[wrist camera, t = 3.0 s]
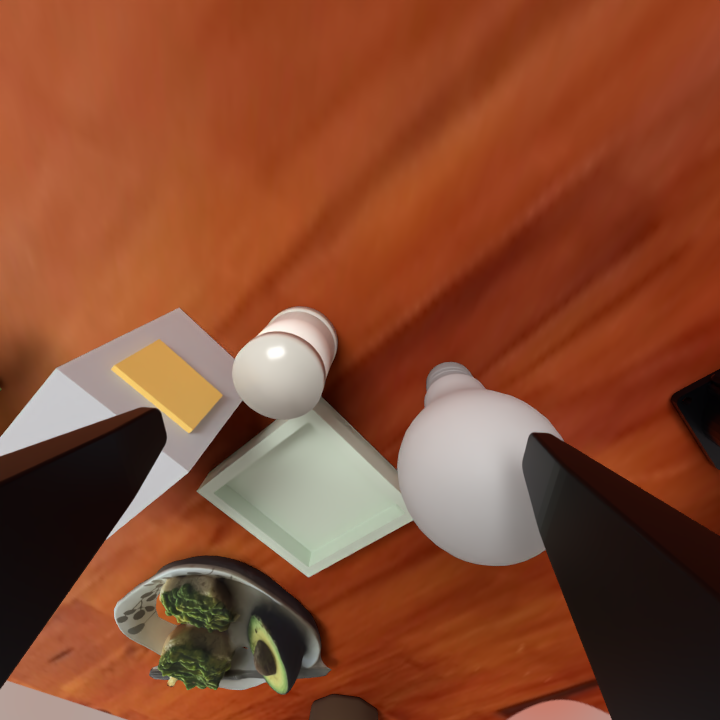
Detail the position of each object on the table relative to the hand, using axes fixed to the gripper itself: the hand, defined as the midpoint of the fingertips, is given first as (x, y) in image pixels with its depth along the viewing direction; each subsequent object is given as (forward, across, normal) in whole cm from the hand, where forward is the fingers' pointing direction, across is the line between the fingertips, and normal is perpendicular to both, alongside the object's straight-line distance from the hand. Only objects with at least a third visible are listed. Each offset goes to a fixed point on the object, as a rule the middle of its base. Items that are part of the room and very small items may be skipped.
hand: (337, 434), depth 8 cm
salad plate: (+12, +12, +30) cm, 35 cm away
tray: (+11, +4, +13) cm, 17 cm away
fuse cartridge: (+11, +4, +2) cm, 12 cm away
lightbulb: (+12, -5, +4) cm, 13 cm away
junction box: (+11, +12, +5) cm, 17 cm away
